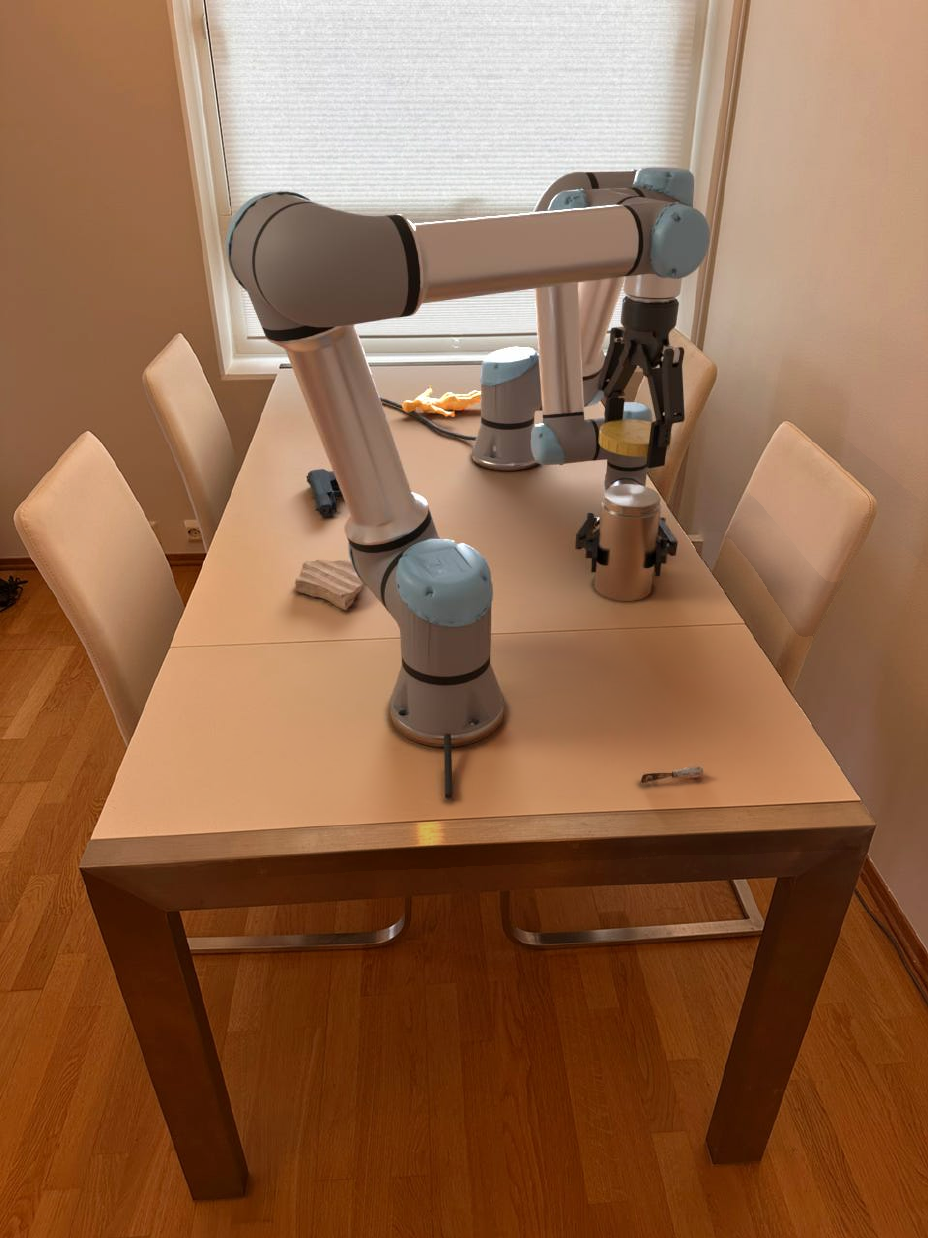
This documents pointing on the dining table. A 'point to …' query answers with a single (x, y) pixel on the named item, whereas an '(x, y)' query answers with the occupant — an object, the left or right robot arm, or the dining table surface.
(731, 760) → the dining table surface
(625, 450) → the lid
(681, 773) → the putty knife
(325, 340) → the left robot arm
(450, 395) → the human figure
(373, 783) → the dining table surface
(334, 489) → the handgun
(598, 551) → the jar
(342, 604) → the stone
